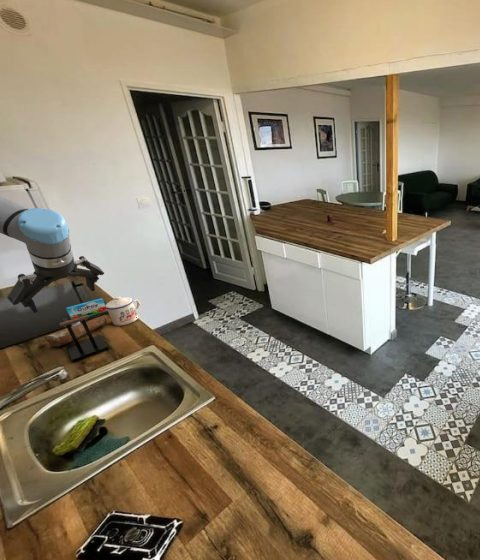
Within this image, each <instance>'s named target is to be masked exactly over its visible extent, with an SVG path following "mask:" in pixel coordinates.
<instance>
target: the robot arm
mask: <svg viewBox="0 0 480 560" xmlns="http://www.w3.org/2000/svg"><path fill="white" fill-rule="evenodd" d="M0 234H2V235H3V236H6V237H9V238H11V239H14V240H17V241H19V242H20V243H21V242H22V243H24V244H25V246H26V249H27V251H28V255H29V258H30V261H31V264H32V267H33V269H34V272H32V274H27V275H26V274H25V273H20V274H18V275H17V281H16V283H15V284H14V286H13V287H12V289H11V290H10V292H9V294H8V295H7V296H6V299H7V300H8V301H9V302H10V303H11V304H12V305H13V306H16V305H19V304H21V305H22V306H23V307H24V308H29V309H30V310H31V311H32V313H34V314H36V313H38V308H37V305H36V304H35V301H34V299H33V298H34V297H35V296H36V295H37V294H38V293H39V292H40V291H42V290H43V289H44V288H45V287H49V286H50V285H51V283H53V282H57V281H59V280H62V279H66V278H68V277H72V278H73V277H74V278H76V277H81V278H85V285H86V287H87V288H88V289H89V290H90V292H95V291H96V288H95V284H96V283H98V281H99V280H100V278H99V276H103V275H105V272H104V271H103V270H102V269H101V268H100V266H98V265H96V264H94V263H92V262H91V261H89V260H88V259H87V258H86V257H85V256H84V255H81V256H79V257H78V260H75V259H74V254H73V249H72V245H71V240H70V229H69V226H68V224H67V222H66V219H65V218H64V216H63V215H62V214H60V213H59V212H57V211H56V210H52V209H46V208H42V207H33V208H28V207H27V206H23V205H21V204H20V203H17V202H16V201H13V200H11V199H9V198H6V197H4V196H2V195H0ZM78 266H80V267H82V268H80V267H78Z"/></svg>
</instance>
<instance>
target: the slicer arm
mask: <svg viewBox="0 0 480 560" xmlns="http://www.w3.org/2000/svg"><path fill="white" fill-rule="evenodd" d="M67 320H68V319H67ZM83 320H90V316H89V317H88V315H85V316H82V317H78V318H75V319H72V320H71V319H69V320H68V321H65V322H64V321H62V322H59V326H60V327H61V328H63V327H64V326H67V325H70V326H71V327H74V326H77V325H80V324H81V321H83ZM64 328H65V327H64Z"/></svg>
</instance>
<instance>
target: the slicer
mask: <svg viewBox="0 0 480 560" xmlns="http://www.w3.org/2000/svg"><path fill="white" fill-rule="evenodd" d="M78 316H79V317H82V314H78ZM62 320H63V321H62V322H65V321H68V317H64V318H62ZM86 321H88V319H86V320H83V321H80V323H82V325H83V327H84V329H85V331H86V333H87V334H86V335H87V337H88V338H85V339H83V340H80V341H79V339H77V338H76V336H75V334H74V332H73V330H72V328H71V327H72V325H71V324H70V325H67V326H64V328H66V329H68V331H69V333H70V335H71V337H72V339H73V341H72V342H73V343H70V344H67V345H66V346H65V347H66V349H67V351H68V354H69V357H70V359H71V361H72V363H76V362H79V361H81V360H84V359H88V358H89V357H93V356H95V355H98V354H100V353H103V352H105V351H108V350H110V348H109V346H108V344H107V342H106V341H105V339H104V338H103V336H102V335H101V333H100V334H98V335H95V336H93V334H92V331H91V332H90V330H89V328H88V326H87V324H86Z"/></svg>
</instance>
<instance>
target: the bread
mask: <svg viewBox="0 0 480 560" xmlns="http://www.w3.org/2000/svg"><path fill="white" fill-rule="evenodd" d="M107 322H108V319H107V318H106V317H105V316H98V317H95V318H92V319H88V320H87V321H86V324H87V326H88V328H89V330H90V332H91V333H92V332H93V331H95V330H96V329H99V328H100V327H102V326H104V325H105V324H107ZM80 323H81V322H80ZM71 328H72V330H73V332H74V334H75V336H76V338H77V340H79V338H81V337H83V336H85V335H87V333H86V331H85V329H84V327H83V325H82V323H81V324H80V325H77V326H74V327H72V326H71ZM43 338H44V340H45V341H46V342H47V343H48V344H49V345H50V347H51V346H52V347H53V346H54V347H58V348H59V347H61V346H62V347H63V346H65V345H69V344H71V343H72V342H74V341H73V339H72V337H71V335H70V333H69V331H68V329H67V328H64V329H61V330H57V331H55V332H52V333H51V334H49V335H46V336H44V337H43Z"/></svg>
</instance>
